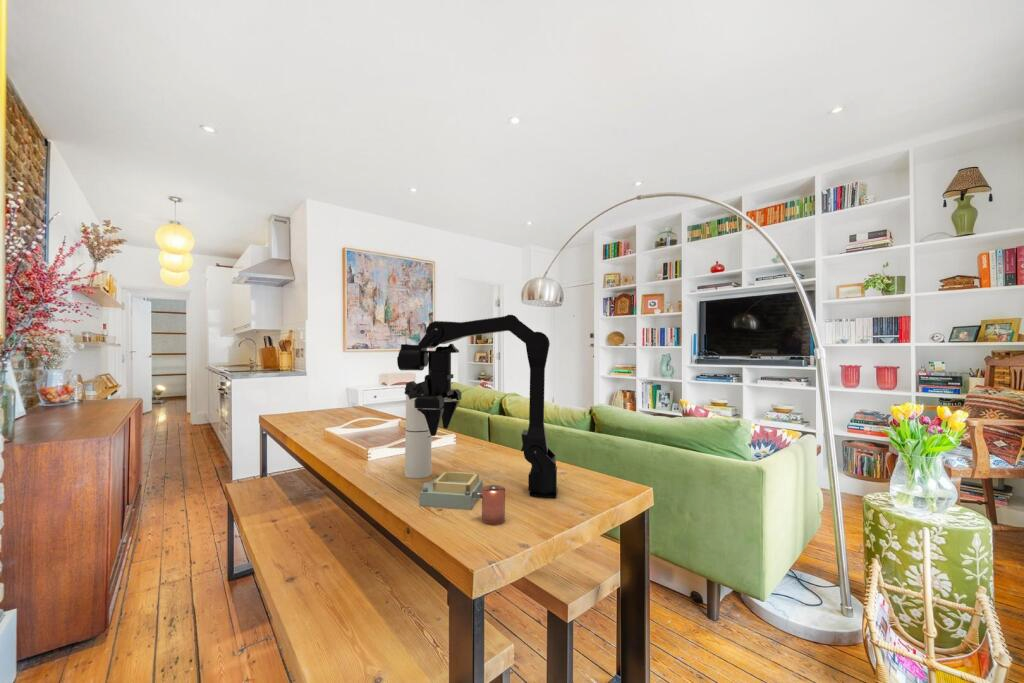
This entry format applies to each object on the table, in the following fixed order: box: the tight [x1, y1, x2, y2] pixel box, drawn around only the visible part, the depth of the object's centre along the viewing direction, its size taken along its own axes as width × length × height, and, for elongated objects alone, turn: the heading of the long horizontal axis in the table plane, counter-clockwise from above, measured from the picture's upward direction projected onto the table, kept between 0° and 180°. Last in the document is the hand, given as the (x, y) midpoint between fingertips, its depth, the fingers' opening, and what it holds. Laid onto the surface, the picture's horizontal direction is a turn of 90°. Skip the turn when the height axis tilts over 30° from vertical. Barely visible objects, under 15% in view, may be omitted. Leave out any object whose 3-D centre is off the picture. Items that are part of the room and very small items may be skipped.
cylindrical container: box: [404, 394, 432, 479], centre depth 115 cm, size 7×7×25 cm
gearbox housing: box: [418, 470, 483, 511], centre depth 97 cm, size 14×11×5 cm
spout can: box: [472, 484, 506, 526], centre depth 85 cm, size 7×5×7 cm
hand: (439, 432), depth 105 cm, fingers open, 9 cm apart
